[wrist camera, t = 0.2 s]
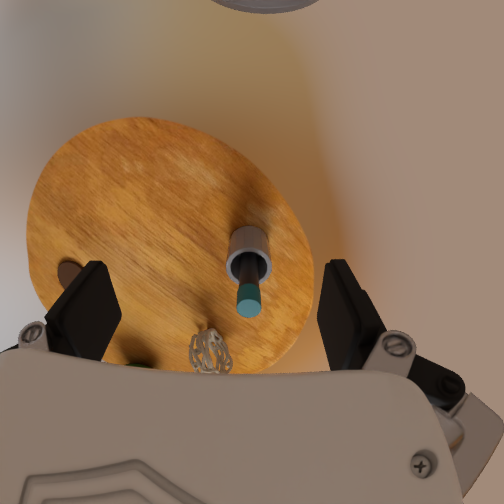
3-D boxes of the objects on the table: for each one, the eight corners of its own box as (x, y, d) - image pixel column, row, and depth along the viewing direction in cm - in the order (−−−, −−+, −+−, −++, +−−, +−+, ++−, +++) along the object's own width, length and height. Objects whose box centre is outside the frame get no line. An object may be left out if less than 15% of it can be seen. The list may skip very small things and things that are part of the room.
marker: (240, 237, 34) (236, 299, 24) (257, 237, 34) (261, 298, 24) (240, 252, 36) (236, 317, 25) (257, 252, 36) (261, 317, 25)
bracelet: (217, 353, 46) (213, 390, 39) (189, 325, 42) (181, 362, 35) (236, 347, 45) (235, 384, 38) (210, 316, 41) (204, 355, 34)
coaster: (53, 260, 36) (52, 262, 36) (84, 260, 37) (82, 262, 36) (66, 294, 40) (65, 296, 39) (96, 297, 40) (95, 298, 39)
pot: (228, 225, 34) (224, 248, 29) (268, 225, 34) (272, 247, 29) (230, 260, 37) (227, 286, 31) (268, 260, 37) (271, 286, 31)
